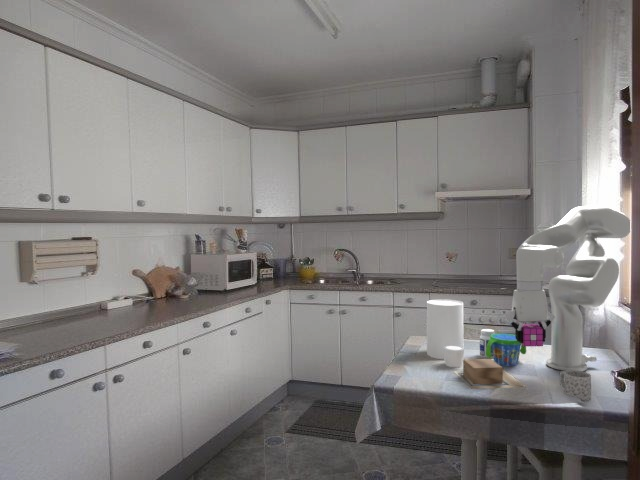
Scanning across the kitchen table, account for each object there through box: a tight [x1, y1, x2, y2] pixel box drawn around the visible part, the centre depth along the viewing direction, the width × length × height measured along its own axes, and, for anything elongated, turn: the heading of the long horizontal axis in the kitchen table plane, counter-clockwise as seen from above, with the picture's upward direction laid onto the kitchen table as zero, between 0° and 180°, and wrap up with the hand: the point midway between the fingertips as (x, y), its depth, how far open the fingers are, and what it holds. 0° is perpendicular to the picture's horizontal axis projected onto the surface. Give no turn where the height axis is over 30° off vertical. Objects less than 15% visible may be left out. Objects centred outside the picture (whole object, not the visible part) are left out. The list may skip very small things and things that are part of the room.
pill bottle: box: [479, 328, 495, 359], centre depth 171 cm, size 6×6×10 cm
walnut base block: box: [462, 358, 504, 384], centre depth 144 cm, size 9×9×5 cm
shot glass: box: [444, 345, 465, 368], centre depth 159 cm, size 7×7×7 cm
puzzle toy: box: [521, 323, 544, 347], centre depth 147 cm, size 6×6×6 cm
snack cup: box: [486, 333, 527, 367], centre depth 160 cm, size 16×10×10 cm
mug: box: [559, 370, 592, 402], centre depth 133 cm, size 10×7×7 cm, turn 12°
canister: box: [426, 299, 464, 360], centre depth 174 cm, size 14×14×20 cm
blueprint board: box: [453, 369, 528, 390], centre depth 144 cm, size 17×16×1 cm
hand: (530, 340), depth 147 cm, fingers closed on puzzle toy, 6 cm apart
